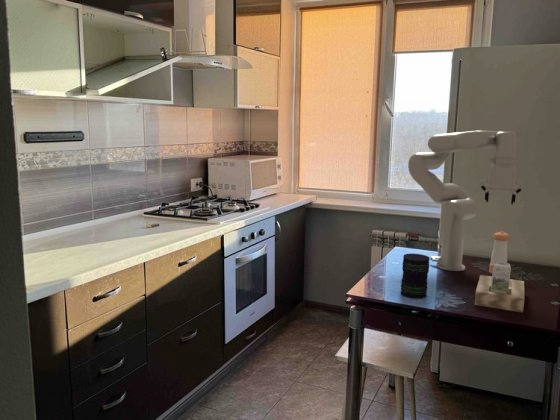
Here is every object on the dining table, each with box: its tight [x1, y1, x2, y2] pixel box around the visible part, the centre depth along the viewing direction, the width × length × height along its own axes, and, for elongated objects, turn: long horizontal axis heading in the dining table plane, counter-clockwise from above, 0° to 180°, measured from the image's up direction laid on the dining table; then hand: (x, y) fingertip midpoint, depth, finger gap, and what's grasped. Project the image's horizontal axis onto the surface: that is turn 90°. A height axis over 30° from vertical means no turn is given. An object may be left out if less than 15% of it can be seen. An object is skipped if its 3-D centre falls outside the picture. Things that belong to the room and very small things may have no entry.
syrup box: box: [490, 262, 512, 294], centre depth 186 cm, size 6×6×14 cm
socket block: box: [474, 274, 525, 314], centre depth 191 cm, size 16×24×5 cm, turn 155°
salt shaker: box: [488, 230, 511, 274], centre depth 226 cm, size 7×7×19 cm
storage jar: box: [400, 253, 431, 300], centre depth 192 cm, size 10×10×15 cm
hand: (499, 202), depth 211 cm, fingers open, 9 cm apart
